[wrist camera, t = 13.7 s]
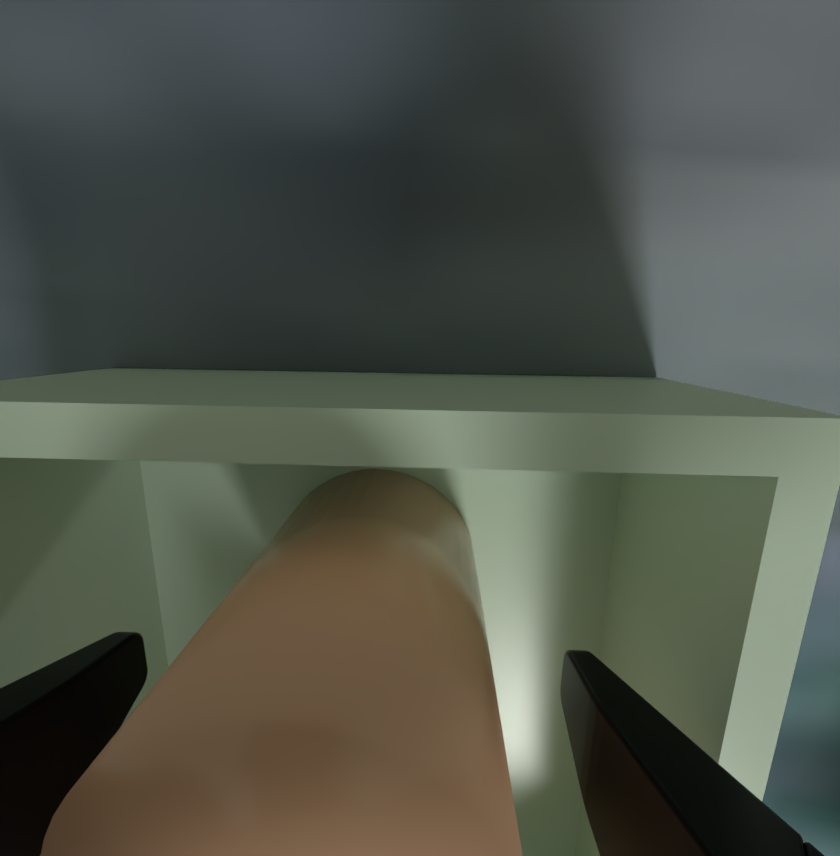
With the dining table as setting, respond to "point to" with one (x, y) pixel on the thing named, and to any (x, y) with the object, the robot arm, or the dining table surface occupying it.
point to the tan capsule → (319, 702)
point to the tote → (482, 513)
